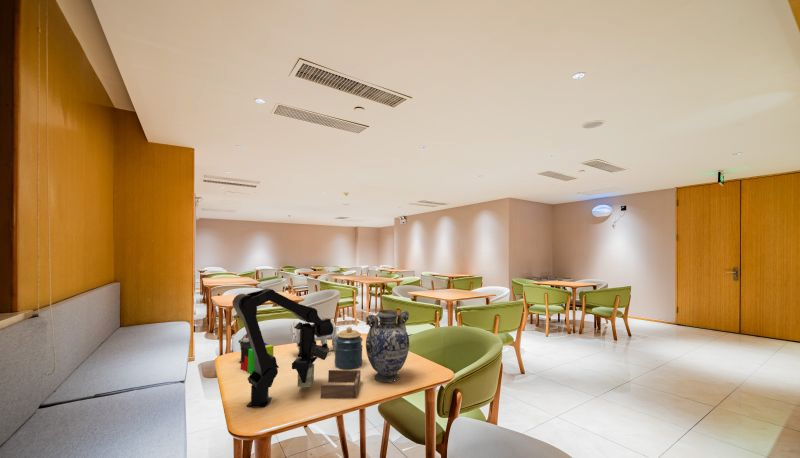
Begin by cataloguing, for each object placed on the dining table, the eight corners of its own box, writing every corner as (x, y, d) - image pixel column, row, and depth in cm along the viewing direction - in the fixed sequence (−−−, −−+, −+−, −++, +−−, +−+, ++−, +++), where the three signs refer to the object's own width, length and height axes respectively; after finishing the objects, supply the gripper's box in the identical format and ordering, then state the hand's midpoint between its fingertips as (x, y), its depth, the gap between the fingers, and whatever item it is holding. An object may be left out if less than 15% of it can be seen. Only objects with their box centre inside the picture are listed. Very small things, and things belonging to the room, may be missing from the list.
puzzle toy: (261, 363, 160) (262, 341, 161) (272, 368, 154) (273, 345, 154) (240, 368, 152) (241, 346, 153) (251, 374, 146) (252, 350, 147)
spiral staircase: (340, 360, 178) (292, 364, 166) (332, 338, 193) (287, 341, 181) (348, 331, 173) (298, 334, 161) (339, 311, 187) (293, 312, 175)
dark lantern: (247, 364, 158) (248, 332, 159) (234, 363, 159) (235, 331, 160) (255, 360, 164) (256, 328, 165) (243, 359, 166) (244, 328, 167)
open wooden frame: (356, 398, 123) (356, 385, 123) (320, 398, 123) (320, 385, 123) (360, 381, 139) (360, 370, 139) (328, 381, 139) (329, 370, 139)
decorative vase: (375, 390, 130) (376, 316, 132) (355, 376, 145) (356, 310, 148) (420, 379, 141) (420, 312, 143) (397, 367, 157) (397, 306, 159)
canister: (365, 367, 155) (366, 328, 156) (337, 371, 150) (338, 331, 151) (358, 359, 167) (359, 323, 168) (332, 362, 162) (333, 325, 164)
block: (310, 386, 128) (311, 368, 129) (297, 386, 128) (298, 367, 129) (313, 381, 133) (314, 363, 134) (301, 381, 133) (301, 363, 134)
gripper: (322, 346, 123) (321, 390, 122) (332, 333, 141) (331, 371, 140) (292, 345, 122) (290, 390, 121) (305, 333, 141) (304, 371, 140)
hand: (305, 380), depth 131 cm, fingers closed on block, 5 cm apart
